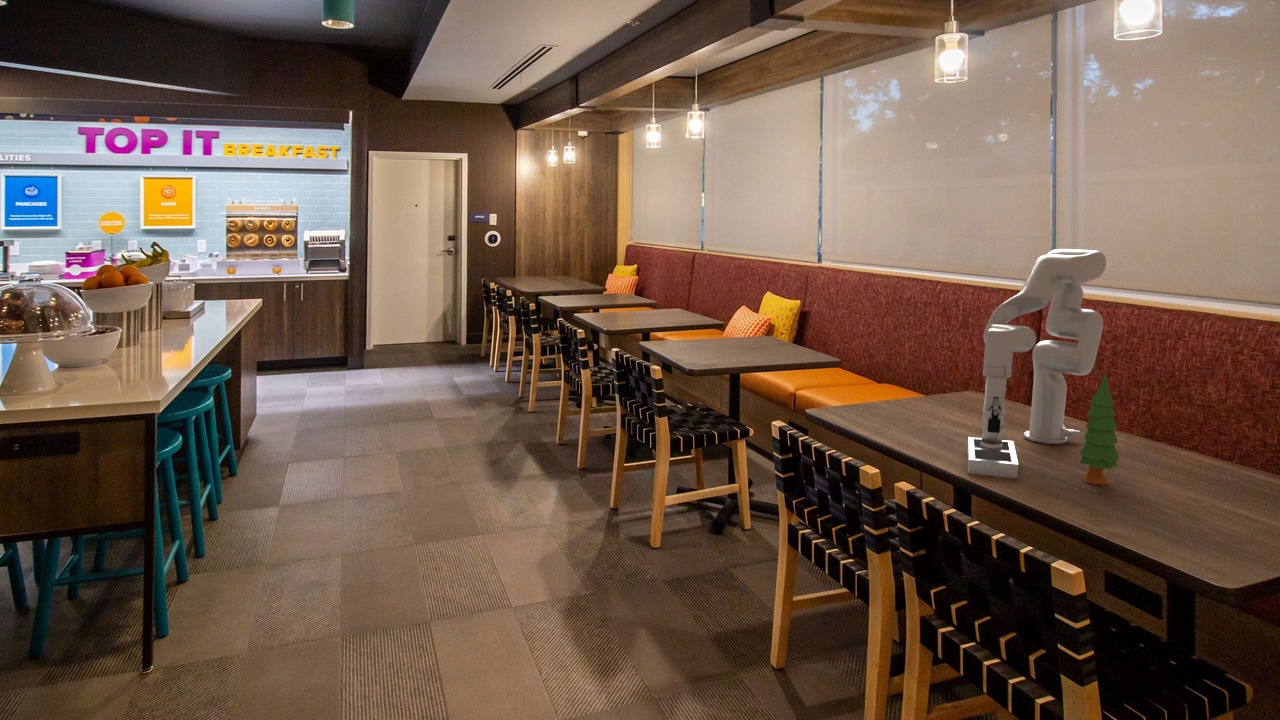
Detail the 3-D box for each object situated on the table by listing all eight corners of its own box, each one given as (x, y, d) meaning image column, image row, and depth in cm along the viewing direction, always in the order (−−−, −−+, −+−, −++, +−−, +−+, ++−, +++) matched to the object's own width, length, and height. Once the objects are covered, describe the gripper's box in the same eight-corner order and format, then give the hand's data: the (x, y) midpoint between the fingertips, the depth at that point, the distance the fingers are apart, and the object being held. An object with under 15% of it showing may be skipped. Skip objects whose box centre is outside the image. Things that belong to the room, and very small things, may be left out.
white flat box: (1012, 453, 250) (1013, 441, 249) (1017, 478, 228) (1018, 464, 227) (967, 449, 254) (968, 437, 254) (968, 473, 232) (969, 459, 232)
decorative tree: (1100, 475, 230) (1111, 369, 225) (1125, 486, 221) (1137, 376, 215) (1068, 477, 229) (1079, 370, 223) (1092, 489, 220) (1103, 377, 214)
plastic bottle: (1001, 455, 248) (1006, 390, 245) (1003, 462, 242) (1008, 395, 238) (978, 453, 251) (983, 388, 247) (979, 460, 244) (984, 393, 240)
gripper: (982, 364, 251) (978, 419, 254) (984, 375, 235) (979, 434, 238) (1009, 366, 248) (1005, 421, 252) (1013, 377, 232) (1008, 437, 236)
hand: (992, 427), depth 245 cm, fingers open, 9 cm apart
